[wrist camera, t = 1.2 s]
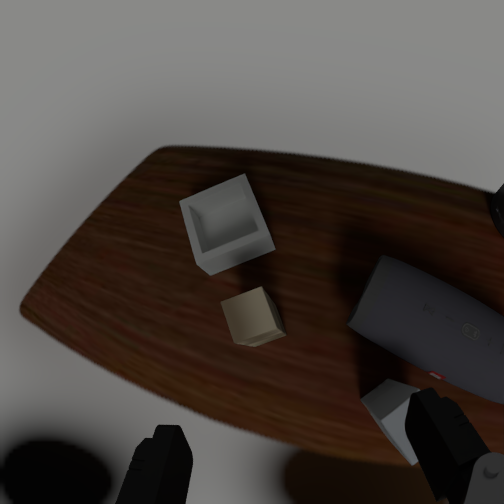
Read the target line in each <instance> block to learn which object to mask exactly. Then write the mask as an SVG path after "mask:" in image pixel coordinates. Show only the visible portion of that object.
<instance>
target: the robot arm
mask: <svg viewBox="0 0 504 504" xmlns="http://www.w3.org/2000/svg"><path fill="white" fill-rule="evenodd" d="M491 213H492V217H493V221H494V223H495V225H496V227H497V229H498V231H499V232H500V233H501V235H502V236H503V237H504V184H503V185H502V186H501V187H500V189H499V190H498V191H497V192H496V193H495V194H494V196H493V198H492V202H491ZM405 432H406V436H407V438H408V440H409V442H410V444H411V446H412V449H413V451H414V453H415V455H416V457H417V459H418V461H419V464H420V466H421V468H422V470H423V472H424V474H425V477H426V479H427V481H428V483H429V486H430V488H431V490H432V492H433V494H434V497H435V499H436V502H438V501H440V500H443V499H445V498H447V499H448V501H449V504H504V455H502V454H500V453H492V452H491V451H490V450H489V449H488V448H487V446H486V445H485V443H484V442H483V440H482V439H481V437H480V436H479V434H478V433H477V431H476V430H475V428H474V427H473V425H472V424H471V423H469V420H468V418H467V417H466V415H464V413H463V411H462V410H461V408H460V407H459V406H458V404H457V403H455V402H454V401H452V400H451V399H449V398H448V397H443V398H440V397H439V395H438V394H437V392H436V391H435V390H434V389H433V388H427V389H424V390H421V391H418V392H414V393H412V394H411V396H410V400H409V405H408V410H407V414H406V418H405ZM192 467H193V456H192V451H191V449H190V447H189V444H188V442H187V440H186V438H185V435H184V433H183V431H182V428H181V427H180V426H179V425H158V426H157V427H156V429H155V432H154V435H153V438H145V439H144V440H143V441H142V442H141V443H140V444H139V445H138V446H137V447H136V449H135V452H134V455H133V457H132V461H131V463H130V465H129V470H128V471H127V474H126V477H125V479H124V482H123V484H122V487H121V490H120V493H119V495H118V498H117V501H116V503H115V504H186V498H187V493H188V488H189V482H190V477H191V472H192Z"/></svg>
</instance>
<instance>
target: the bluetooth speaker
mask: <svg viewBox="0 0 504 504" xmlns="http://www.w3.org/2000/svg"><path fill="white" fill-rule="evenodd" d="M346 324H347V325H348V326H349V327H351V328H352V329H353V330H355V331H356V332H358V333H359V334H361V335H362V336H364V337H365V338H367V339H369V340H370V341H372V342H374V343H376V344H377V345H379V346H381V347H383V348H384V349H386V350H388V351H390V352H391V353H393V354H395V355H397V356H398V357H400V358H402V359H404V360H406V361H407V362H409V363H411V364H413V365H415V366H417V367H419V368H421V369H422V370H424V371H426V372H427V373H429V374H430V375H433V376H434V377H436V378H438V379H442V380H444V381H446V382H449V383H451V384H453V385H455V386H457V387H459V388H462V389H464V390H466V391H469V392H471V393H473V394H476V395H478V396H480V397H483V398H485V399H488V400H490V401H493V402H497V403H501V404H504V317H503V316H502V315H500V314H499V313H497V312H496V311H494V310H493V309H491V308H489V307H488V306H486V305H485V304H483V303H481V302H480V301H478V300H476V299H475V298H473V297H471V296H469V295H468V294H466V293H464V292H462V291H461V290H459V289H457V288H455V287H453V286H451V285H449V284H447V283H446V282H444V281H442V280H440V279H438V278H436V277H434V276H432V275H430V274H428V273H426V272H424V271H421V270H419V269H417V268H415V267H413V266H411V265H409V264H407V263H404V262H402V261H399V260H397V259H394V258H391V257H389V256H385V255H382V256H380V257H379V259H378V261H377V263H376V265H375V267H374V269H373V270H372V272H371V274H370V276H369V278H368V280H367V282H366V285H365V288H364V291H363V293H362V295H361V297H360V299H359V301H358V303H357V304H356V305H355V307H354V308H353V310H352V312H351V314H350V316H349V318H348V321H347V323H346Z"/></svg>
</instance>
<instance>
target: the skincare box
mask: <svg viewBox="0 0 504 504" xmlns="http://www.w3.org/2000/svg"><path fill="white" fill-rule="evenodd" d="M418 391H420V389H418V388H415V387H412V386H409V385H406V384H403V383H400V382H397V381H394V380H391V379H387V380H385V381H384V382H383V383H381V384H380V385H379V386H377V387H376V388H375V389H374V390H372V391H371V392H370V393H368V394H367V395H365V396H364V397H363V398H361V402H362V403H363V404H364V406H365V407H366V409H367V410H368V411H369V413H370V414H371V416H372V417H373V419H374V420H375V421H376V423H377V424H378V426H379V427H380V428H381V430H382V431H383V433H384V434H385V435H386V437H387V438H388V439H389V440H390V441H391V442H392V444H393V445H394V446H395V447H396V448H397V449H398V450H399V452H400V453H401V454H402V455H403V456H404V457H405V458H406V459H407V461H408V462H409V463H410V464H411V465H414V464H415V463H416V462H418V459H417V457H416V455H415V453H414V451H413V449H412V446H411V444H410V442H409V440H408V438H407V436H406V432H405V418H406V414H407V410H408V405H409V400H410V396H411V394H412V393H414V392H418Z"/></svg>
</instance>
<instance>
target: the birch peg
mask: <svg viewBox="0 0 504 504" xmlns="http://www.w3.org/2000/svg"><path fill="white" fill-rule="evenodd" d="M221 304H222V308H223V311H224V314H225V317H226V320H227V323H228V326H229V329H230V332H231V335H232V338H233V341H234V343H236V344H242V345H248V346H254V347H256V346H258V345H261V344H264V343H267V342H270V341H272V340H275V339H278V338H280V337H283V336H286V332H285V329H284V327H283V324H282V321H281V319H280V316H279V313H278V311H277V308H276V305H275V303H274V302H273V301H272V300H271V298H270V297H269V296H268V294H267V293H266V292H265V290H264V289H263V288H262V286H261V287H259V288H256V289H253V290H251V291H248V292H246V293H243V294H240V295H238V296H235V297H233V298H230V299H227V300H225V301H222V302H221Z"/></svg>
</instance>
